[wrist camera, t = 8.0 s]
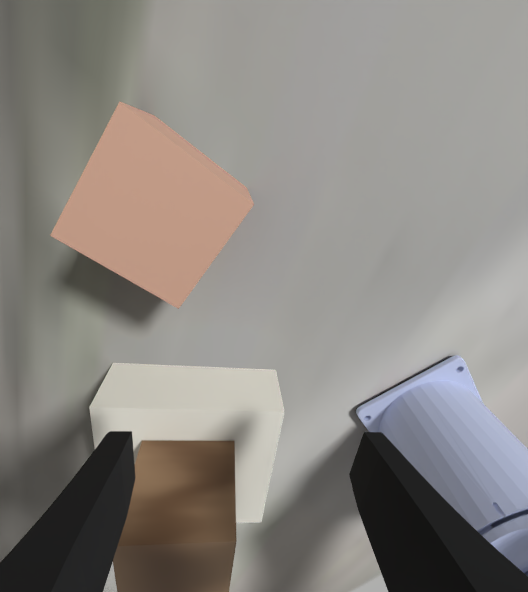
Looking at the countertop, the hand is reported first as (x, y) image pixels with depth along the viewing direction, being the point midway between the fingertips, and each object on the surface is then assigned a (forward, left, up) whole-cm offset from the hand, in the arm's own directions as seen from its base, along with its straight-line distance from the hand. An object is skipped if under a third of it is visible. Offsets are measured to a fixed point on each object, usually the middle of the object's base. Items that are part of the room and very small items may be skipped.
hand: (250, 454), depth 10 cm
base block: (-5, +8, -10) cm, 14 cm away
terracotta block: (+7, -1, -10) cm, 12 cm away
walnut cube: (-5, +8, -6) cm, 11 cm away
